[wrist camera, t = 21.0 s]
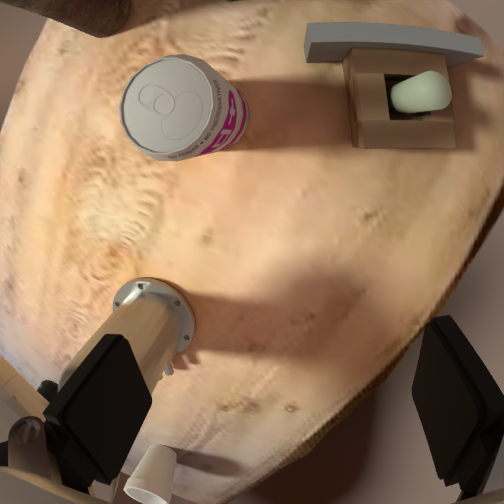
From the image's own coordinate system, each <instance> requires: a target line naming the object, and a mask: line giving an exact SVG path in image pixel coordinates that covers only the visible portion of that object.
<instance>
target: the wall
mask: <svg viewBox="0 0 504 504" xmlns="http://www.w3.org/2000/svg"><path fill="white" fill-rule="evenodd" d="M352 47H367V48H391V49H405V50H416V51H426V52H434V53H442V54H444V55H445V60H446V65H447V67H453V66H456V65H458V64H461V63H464V62H467V61H470V60H473V59H476V58H479V57H482V56H484V54H483V49H482V44H481V40H480V38H477V37H473V36H468V35H463V34H459V33H453V32H448V31H442V30H436V29H430V28H423V27H415V26H406V25H395V24H382V23H361V22H324V23H308V24H307V30H306V37H305V43H304V51H305V57H306V63H310V62H331V61H342V60H343V59H344V58H345V56H346V55H347V54H348V52H349V51H350V49H351V48H352Z"/></svg>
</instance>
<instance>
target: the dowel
mask: <svg viewBox="0 0 504 504" xmlns="http://www.w3.org/2000/svg"><path fill="white" fill-rule="evenodd" d="M386 94H387V101H388V110H389V113H391V114H393V115H402V114H409V113H416V112H423V111H431V110H440V109H444V108H446V107H447V106H448V105H449V103H450V101H451V98H452V91H451V87H450V84H449V83H448V81H447V80H446V78H445V77H444V76H443V75H441V74H440V73H438V72H435V71H427V72H424V73H422V74H419V75H417V76H414V77H412V78H409V79H407V80H405V81H402V82H400V83H398V84H395V85H393V86H391V87H388V88H387V89H386Z"/></svg>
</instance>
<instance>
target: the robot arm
mask: <svg viewBox="0 0 504 504" xmlns="http://www.w3.org/2000/svg"><path fill="white" fill-rule="evenodd" d="M194 333H195V318H194V314H193V312H192V310H191V307H190V306H189V304H188V303H187V301H186V300H185V298H184V297H183V296H182V295H181V294H180V293H179V292H178V291H176V290H175V289H174V288H173V287H171V286H169V285H168V284H166V283H164V282H161V281H159V280H156V279H151V278H138V279H133V280H131V281H129V282H127V283H126V284H124V285H123V286H122V287H121V288H120V289H119V290H118V292H117V293H116V295H115V297H114V301H113V313H112V314H111V315H110V317H109V318H108V319H107V320H106V321H105V322H104V323H103V324H102V325H101V327H100V328H99V329H98V330H97V331H96V332H95V333H94V335H93V336H92V337H91V338H90V339H89V340H88V341H87V343H86V344H85V345H84V346H83V347H82V348H81V350H80V351H79V352H78V353H77V354H76V355H75V357H74V358H73V359H72V360H71V361H70V362H69V364H68V365H67V366H66V368H65V369H64V370H63V372H62V375H61V377H60V380H59V384H58V393H57V394H56V396H55V397H54V398H53V399H52V401H51V402H50V403H49V402H48V401H47V400H46V399H45V398H44V397H43V396H42V395H40V394H39V393H38V392H37V391H36V390H35V389H34V388H33V387H32V386H31V385H30V384H29V383H28V382H27V381H26V380H25V379H24V378H23V377H22V376H21V375H20V374H19V373H18V372H17V371H16V370H15V368H14V367H13V366H12V365H11V364H9V363H8V362H7V361H6V360H5V359H4V358H3V357H2V356H0V504H114V503H112V501H113V499H114V496H115V492H116V489H117V485H118V480H119V475H120V471H121V468H122V466H123V464H124V462H125V460H126V458H127V456H128V453H129V451H130V449H131V447H132V445H133V443H134V441H135V439H136V437H137V434H138V432H139V430H140V428H141V426H142V424H143V422H144V420H145V418H146V416H147V413H148V411H149V409H150V407H151V405H152V397H151V395H152V393H153V391H154V389H155V387H156V385H157V383H158V381H159V380H161V379H162V378H163V375H162V373H163V371H165V374H166V375H172V374H173V373H174V370H173V367H172V365H171V361H172V359H173V357H174V355H175V354H178V353H180V352H181V351H183V350H184V349H185V348H187V347H188V345H189V344H190V342H191V341H192V338H193V336H194ZM412 397H413V400H414V403H415V405H416V409H417V411H418V414H419V417H420V420H421V423H422V426H423V429H424V432H425V435H426V438H427V442H428V445H429V448H430V451H431V454H432V458H433V461H434V465H435V468H436V472H437V475H438V478H439V479H444V483H445V486H446V487H447V486H450V485H453V484H456V483H459V485H460V489H461V490H462V491H461V493H460V495H459V497H458V499H457V501H456V502H455V503H452V504H504V395H503V393H502V392H501V390H500V388H499V387H498V385H497V383H496V382H495V380H494V379H493V377H492V375H491V374H490V372H489V371H488V369H487V368H486V366H485V365H484V363H483V361H482V360H481V358H480V357H479V356H478V354H477V353H476V351H475V350H474V348H473V347H472V345H471V344H470V342H469V341H468V340H467V338H466V337H465V335H464V334H463V333H462V331H461V330H460V329H459V327H458V326H457V324H456V323H455V322H454V320H453V319H452V317H451V316H450V315H446V316H439V317H433V318H432V319H431V320H430V323H427V324H426V325H425V330H424V335H423V340H422V345H421V350H420V355H419V360H418V364H417V369H416V373H415V377H414V381H413V385H412Z"/></svg>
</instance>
